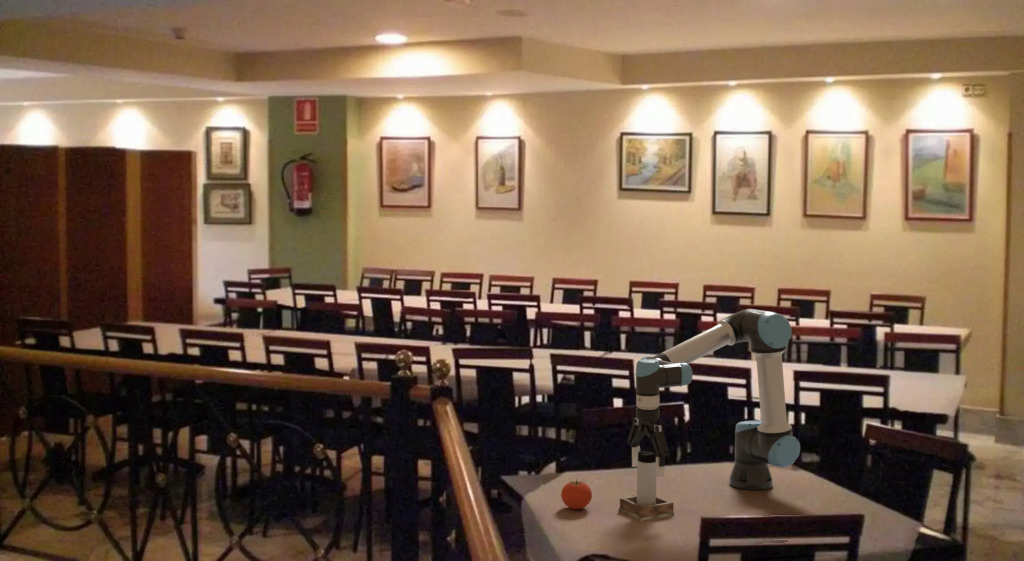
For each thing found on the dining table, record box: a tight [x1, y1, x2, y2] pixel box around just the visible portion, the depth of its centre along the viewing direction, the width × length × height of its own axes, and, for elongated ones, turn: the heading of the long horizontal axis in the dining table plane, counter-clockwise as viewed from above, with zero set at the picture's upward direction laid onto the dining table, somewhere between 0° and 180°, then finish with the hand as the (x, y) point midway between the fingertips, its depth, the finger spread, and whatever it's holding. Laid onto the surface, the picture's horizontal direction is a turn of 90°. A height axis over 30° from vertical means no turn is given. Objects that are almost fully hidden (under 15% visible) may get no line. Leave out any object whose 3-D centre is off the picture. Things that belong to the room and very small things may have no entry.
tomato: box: [560, 478, 593, 510], centre depth 347 cm, size 10×10×10 cm
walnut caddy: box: [618, 495, 675, 522], centre depth 343 cm, size 13×13×4 cm
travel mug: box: [636, 449, 657, 507], centre depth 342 cm, size 6×7×20 cm
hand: (647, 471), depth 342 cm, fingers open, 13 cm apart
